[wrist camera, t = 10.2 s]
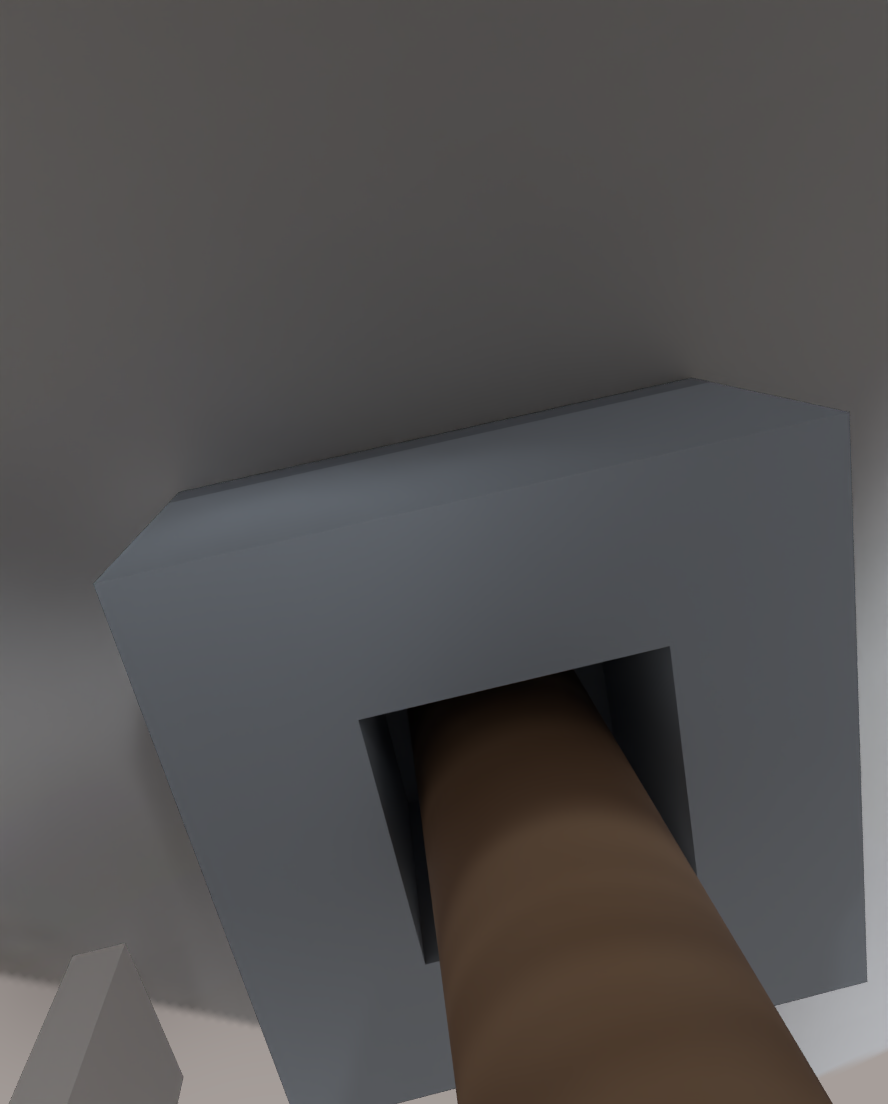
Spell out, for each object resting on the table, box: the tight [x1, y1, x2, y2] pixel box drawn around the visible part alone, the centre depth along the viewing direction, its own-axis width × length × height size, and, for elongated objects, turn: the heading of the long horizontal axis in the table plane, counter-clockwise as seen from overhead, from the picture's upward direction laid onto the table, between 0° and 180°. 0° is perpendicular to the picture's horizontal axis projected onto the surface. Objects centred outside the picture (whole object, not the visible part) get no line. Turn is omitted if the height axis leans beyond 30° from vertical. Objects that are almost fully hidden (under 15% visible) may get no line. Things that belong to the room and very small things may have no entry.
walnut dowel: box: [407, 669, 832, 1104], centre depth 11 cm, size 4×4×15 cm
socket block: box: [93, 378, 867, 1104], centre depth 17 cm, size 12×12×6 cm
